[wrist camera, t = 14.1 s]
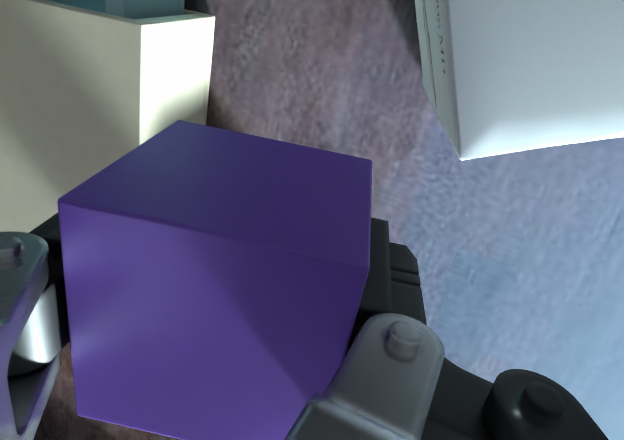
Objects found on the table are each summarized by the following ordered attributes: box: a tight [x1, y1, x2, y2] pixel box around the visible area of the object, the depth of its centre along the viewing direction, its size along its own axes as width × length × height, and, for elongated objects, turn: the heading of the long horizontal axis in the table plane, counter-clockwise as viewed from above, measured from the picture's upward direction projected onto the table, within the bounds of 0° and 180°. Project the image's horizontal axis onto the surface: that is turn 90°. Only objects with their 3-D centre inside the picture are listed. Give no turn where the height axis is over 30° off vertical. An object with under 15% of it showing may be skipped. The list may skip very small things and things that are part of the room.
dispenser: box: [0, 0, 215, 233], centre depth 24 cm, size 12×13×9 cm
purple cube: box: [57, 120, 372, 440], centre depth 9 cm, size 4×4×4 cm
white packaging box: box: [415, 0, 624, 161], centre depth 18 cm, size 7×7×13 cm
